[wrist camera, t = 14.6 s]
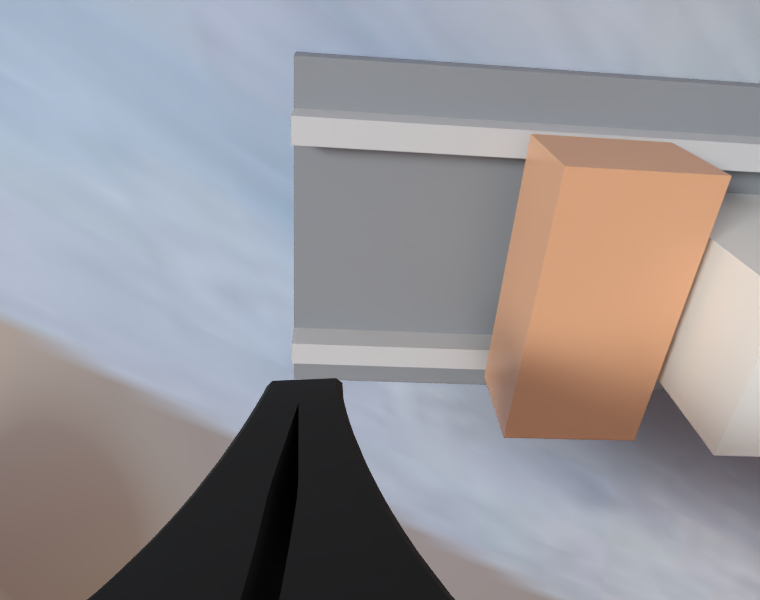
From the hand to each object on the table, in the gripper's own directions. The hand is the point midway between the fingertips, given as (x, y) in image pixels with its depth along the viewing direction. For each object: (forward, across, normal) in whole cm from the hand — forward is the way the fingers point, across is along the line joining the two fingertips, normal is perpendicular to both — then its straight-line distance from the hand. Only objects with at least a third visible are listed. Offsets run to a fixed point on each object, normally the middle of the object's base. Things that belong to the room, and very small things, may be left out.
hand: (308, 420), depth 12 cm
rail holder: (+9, -9, +1) cm, 13 cm away
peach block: (+7, -8, +1) cm, 10 cm away
